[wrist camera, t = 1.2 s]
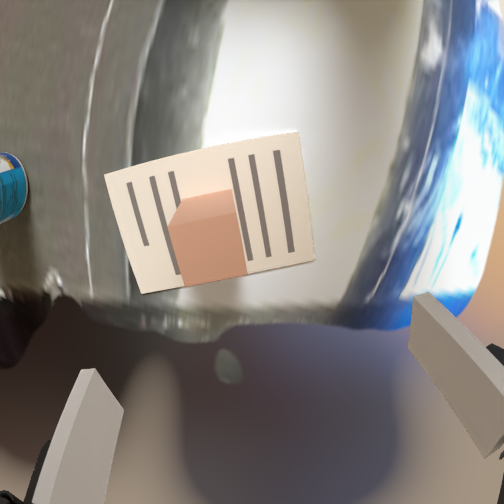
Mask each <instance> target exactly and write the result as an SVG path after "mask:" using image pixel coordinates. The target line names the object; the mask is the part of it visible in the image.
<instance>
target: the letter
mask: <svg viewBox="0 0 504 504" xmlns="http://www.w3.org/2000/svg"><path fill="white" fill-rule="evenodd" d="M104 177H105V180H106V184H107V188H108V192H109V196H110V199H111V203H112V206H113V210H114V213H115V217H116V220H117V223H118V227H119V230H120V233H121V236H122V239H123V242H124V246H125V249H126V252H127V255H128V258H129V260H130V263H131V266H132V269H133V272H134V275H135V277H136V280H137V283H138V286H139V288H140V291H141V294H144V293H149V292H155V291H160V290H166V289H171V288H177V287H182V286H184V282H183V279H182V276H181V273H180V269H179V266H178V263H177V259H176V256H175V252H174V249H173V245H172V242H171V238H170V235H169V231H168V225H169V223H170V221H171V219H172V217H173V215H174V214H175V212H176V210H177V208H178V206H179V204H180V203H181V201H182V199H186V198H190V197H195V196H199V195H204V194H209V193H213V192H218V191H223V190H228V189H232V194H233V199H234V204H235V209H236V214H237V219H238V224H239V229H240V234H241V239H242V245H243V250H244V256H245V261H246V267H247V272H248V274H249V273H254V272H259V271H264V270H269V269H274V268H279V267H284V266H289V265H294V264H298V263H303V262H308V261H313V260H315V257H314V247H313V237H312V228H311V219H310V211H309V202H308V194H307V187H306V179H305V172H304V165H303V158H302V151H301V144H300V138H299V132H294V133H287V134H280V135H273V136H267V137H261V138H255V139H249V140H243V141H238V142H233V143H227V144H222V145H217V146H213V147H208V148H203V149H199V150H194V151H190V152H185V153H181V154H177V155H173V156H169V157H165V158H161V159H157V160H153V161H150V162H146V163H142V164H139V165H135V166H131V167H128V168H125V169H121V170H118V171H115V172H111V173H108V174H105V175H104Z"/></svg>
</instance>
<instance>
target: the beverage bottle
mask: <svg viewBox="0 0 504 504" xmlns="http://www.w3.org/2000/svg"><path fill="white" fill-rule="evenodd" d="M27 194H28V181H27V176H26V172H25V170H24V167H23V165H22V164H21V162H20V161H19V160H18V159H17V158H16V157H15V156H13V155H12V154H9V153H0V224H2V223H3V222H6V221H8V220H10V219H12V218H14V217H16V216H17V215H18V214H19V213H20V212H21V210H22V209H23V207H24V205H25V202H26V199H27Z"/></svg>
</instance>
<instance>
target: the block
mask: <svg viewBox="0 0 504 504" xmlns="http://www.w3.org/2000/svg"><path fill="white" fill-rule="evenodd" d="M168 231H169V235H170V238H171V242H172V245H173V249H174V252H175V256H176V259H177V263H178V266H179V269H180V273H181V276H182V279H183V282H184V286H185V287H187V286H192V285H198V284H203V283H208V282H213V281H219V280H224V279H229V278H234V277H239V276H244V275H248V272H247V267H246V261H245V256H244V250H243V245H242V239H241V234H240V229H239V224H238V219H237V214H236V209H235V204H234V199H233V194H232V189H228V190H223V191H218V192H213V193H209V194H204V195H199V196H195V197H190V198H186V199H182V201H181V203H180V204H179V206H178V208H177V210H176V212H175V214H174V215H173V217H172V219H171V221H170V223H169V225H168Z"/></svg>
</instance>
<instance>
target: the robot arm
mask: <svg viewBox="0 0 504 504" xmlns="http://www.w3.org/2000/svg"><path fill="white" fill-rule="evenodd" d="M408 348H409V350H410V351H411V353H412V354H413V355H414V357H415V358H416V359H417V361H418V362H419V363H420V365H421V366H422V367H423V369H424V370H425V371H426V373H427V374H428V376H429V377H430V378H431V380H432V381H433V383H434V384H435V385H436V387H437V388H438V390H439V391H440V392H441V394H442V395H443V397H444V398H445V400H446V401H447V402H448V404H449V405H450V407H451V408H452V410H453V411H454V413H455V414H456V416H457V417H458V418H459V420H460V422H461V423H462V425H463V426H464V428H465V429H466V431H467V432H468V434H469V435H470V437H471V438H472V440H473V441H474V443H475V445H476V446H477V448H478V449H479V451H480V452H481V454H482V456H483V457H484V459H485V458H486V457H488V456H489V455H491V454H492V453H493V452H495V451H496V450H497V449H499V448H500V447H501V446H502V444H503V443H504V349H502V348H500V347H498V346H496V345H494V344H490V345H489V346H487V347H485V346H484V345H483V344H482V343H481V342H480V341H479V340H478V339H477V338H476V337H475V336H474V335H473V334H472V333H471V332H470V331H469V330H468V329H467V328H466V327H465V326H464V325H463V324H462V323H461V322H460V321H459V320H458V319H457V318H456V317H455V316H454V315H453V314H452V313H451V312H449V311H448V310H447V309H446V308H445V307H444V306H443V305H442V304H441V303H440V302H439V301H438V300H437V299H436V298H434V297H433V296H432V295H431V294H430V293H429V292H426V293H423V294H420V295H417V296H415V297H413V306H412V317H411V326H410V334H409V343H408ZM123 413H124V409H123V408H122V407H121V405H120V404H119V403H118V401H117V400H116V398H115V397H114V396H113V394H112V393H111V391H110V390H109V389H108V387H107V386H106V384H105V383H104V381H103V380H102V378H101V377H100V375H99V374H98V372H97V371H96V369H95V368H94V369H85V370H81V371H80V373H79V376H78V378H77V380H76V382H75V385H74V387H73V389H72V392H71V394H70V396H69V398H68V401H67V403H66V406H65V408H64V410H63V413H62V415H61V418H60V420H59V423H58V425H57V428H56V431H55V433H54V436H53V439H52V441H50V440H48V441H47V443H46V444H45V445H44V446H43V448H42V449H41V451H40V454H39V457H38V459H37V460H38V462H37V463H36V465H35V471H33V474H32V477H31V480H30V483H29V487H28V490H27V493H26V496H25V499H24V502H22V501H21V500H19V499H18V498H17V497H15V496H14V495H13V494H11V493H10V492H9V491H5V490H3V491H0V504H104V503H105V496H106V491H107V486H108V480H109V475H110V470H111V465H112V461H113V456H114V451H115V447H116V442H117V437H118V433H119V429H120V425H121V421H122V417H123ZM503 457H504V451H503V452H502V453H501V455H500V458H499V459H502V458H503ZM497 504H504V475H503V480H502V485H501V489H500V494H499V498H498V502H497Z"/></svg>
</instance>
